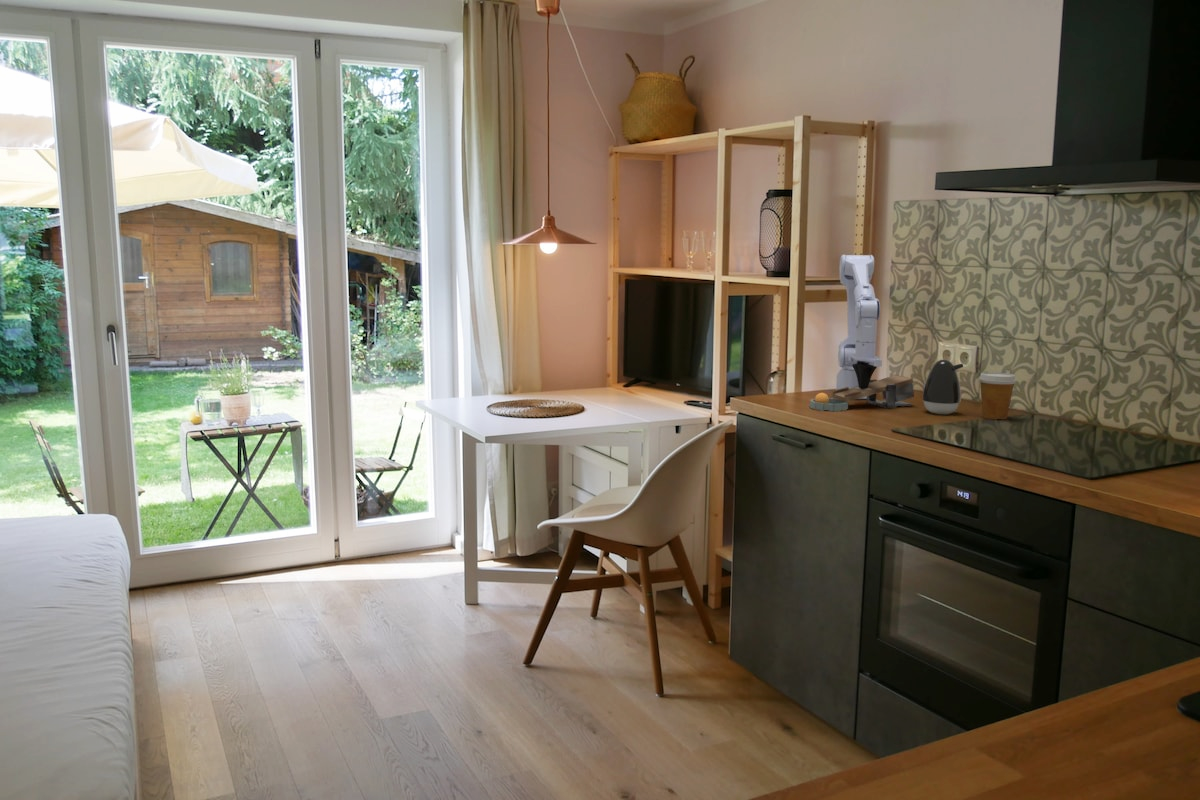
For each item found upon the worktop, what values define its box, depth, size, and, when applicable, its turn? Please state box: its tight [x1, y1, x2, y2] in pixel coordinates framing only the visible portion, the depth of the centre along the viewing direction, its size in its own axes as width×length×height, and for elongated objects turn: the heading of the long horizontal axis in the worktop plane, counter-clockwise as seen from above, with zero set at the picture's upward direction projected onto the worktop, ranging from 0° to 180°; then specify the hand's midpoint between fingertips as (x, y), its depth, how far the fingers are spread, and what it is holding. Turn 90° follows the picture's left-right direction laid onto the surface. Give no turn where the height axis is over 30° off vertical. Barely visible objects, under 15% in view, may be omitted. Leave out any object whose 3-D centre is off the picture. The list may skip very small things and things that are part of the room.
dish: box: [809, 397, 849, 412], centre depth 283 cm, size 11×11×2 cm
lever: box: [831, 374, 915, 403], centre depth 286 cm, size 22×8×6 cm, turn 106°
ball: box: [814, 392, 830, 404], centre depth 282 cm, size 4×4×4 cm
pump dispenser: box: [922, 359, 964, 415], centre depth 275 cm, size 10×10×15 cm
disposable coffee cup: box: [978, 371, 1017, 420], centre depth 269 cm, size 10×10×12 cm
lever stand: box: [866, 378, 912, 410], centre depth 288 cm, size 9×11×7 cm
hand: (863, 388), depth 285 cm, fingers closed, pressing on lever
